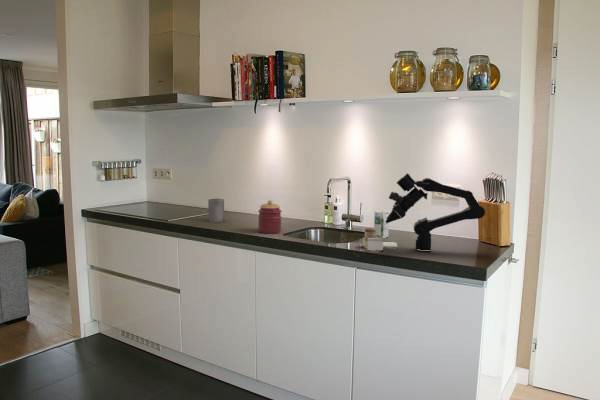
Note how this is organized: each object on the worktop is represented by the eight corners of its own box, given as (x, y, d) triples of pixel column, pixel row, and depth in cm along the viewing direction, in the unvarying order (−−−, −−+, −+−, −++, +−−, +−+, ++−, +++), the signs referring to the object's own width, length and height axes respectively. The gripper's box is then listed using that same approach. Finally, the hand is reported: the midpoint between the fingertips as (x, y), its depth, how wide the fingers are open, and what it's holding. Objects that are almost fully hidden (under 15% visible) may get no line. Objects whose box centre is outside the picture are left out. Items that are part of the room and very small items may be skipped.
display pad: (396, 244, 229) (396, 242, 229) (397, 248, 220) (397, 246, 220) (377, 243, 230) (377, 241, 230) (378, 247, 221) (378, 245, 221)
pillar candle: (213, 219, 296) (213, 196, 294) (227, 220, 293) (226, 197, 291) (205, 222, 287) (205, 198, 285) (219, 223, 284) (218, 198, 282)
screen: (382, 250, 215) (383, 238, 214) (383, 251, 213) (383, 239, 212) (367, 250, 216) (367, 237, 215) (367, 251, 214) (367, 238, 213)
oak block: (374, 246, 224) (375, 228, 223) (374, 248, 219) (375, 229, 218) (364, 245, 225) (364, 227, 224) (364, 248, 220) (364, 229, 219)
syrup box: (373, 237, 245) (374, 210, 243) (379, 236, 249) (380, 209, 247) (382, 239, 241) (383, 211, 239) (388, 237, 245) (389, 210, 243)
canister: (284, 230, 262) (284, 199, 260) (277, 234, 250) (277, 202, 248) (262, 229, 266) (262, 198, 263) (254, 233, 253) (254, 201, 251)
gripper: (399, 184, 225) (376, 205, 229) (399, 187, 207) (373, 211, 211) (415, 201, 224) (391, 222, 228) (416, 206, 206) (390, 229, 210)
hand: (386, 220), depth 219 cm, fingers open, 9 cm apart
